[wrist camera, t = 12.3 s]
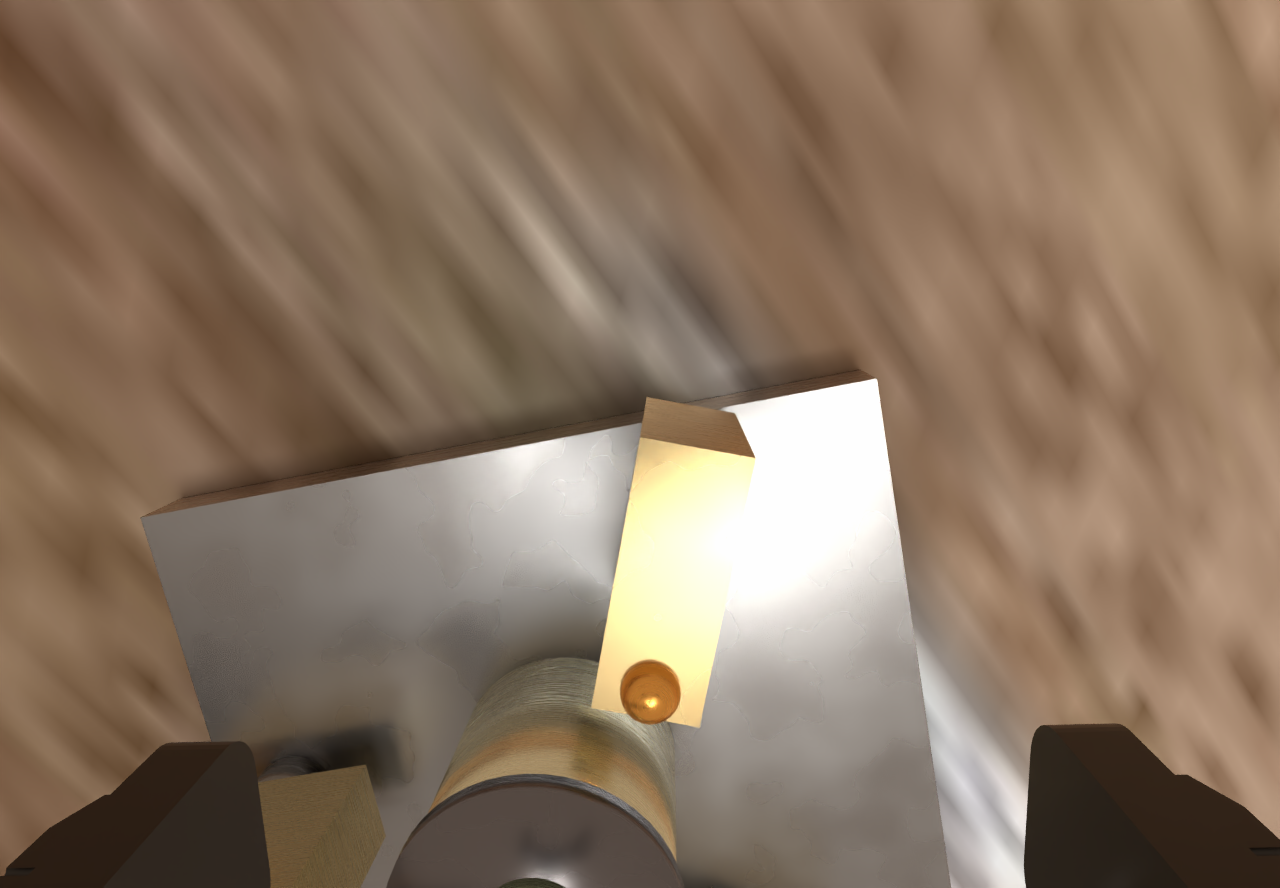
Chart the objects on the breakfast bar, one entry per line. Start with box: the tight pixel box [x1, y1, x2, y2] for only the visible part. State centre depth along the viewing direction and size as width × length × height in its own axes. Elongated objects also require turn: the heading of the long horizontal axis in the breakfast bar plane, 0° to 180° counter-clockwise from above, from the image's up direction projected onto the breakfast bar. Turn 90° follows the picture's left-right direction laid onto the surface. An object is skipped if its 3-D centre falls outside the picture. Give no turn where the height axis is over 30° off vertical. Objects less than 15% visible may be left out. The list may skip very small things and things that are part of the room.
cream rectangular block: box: [591, 397, 756, 727], centre depth 20 cm, size 2×6×7 cm, turn 170°
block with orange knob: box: [257, 756, 386, 888], centre depth 22 cm, size 2×6×7 cm, turn 101°
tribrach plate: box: [141, 370, 951, 888], centre depth 22 cm, size 20×18×9 cm
